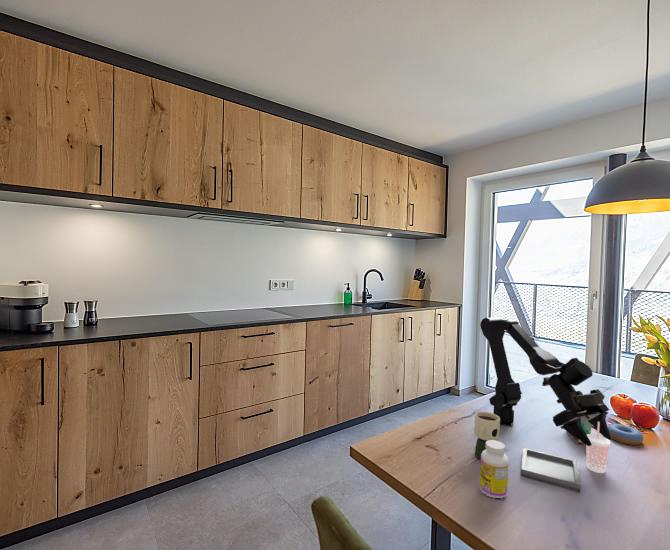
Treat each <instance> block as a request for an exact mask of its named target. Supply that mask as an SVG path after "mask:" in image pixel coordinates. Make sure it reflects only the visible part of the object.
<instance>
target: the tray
mask: <svg viewBox="0 0 670 550" xmlns="http://www.w3.org/2000/svg"><path fill="white" fill-rule="evenodd" d="M522 450H523V451H522V458H521V459H522V461H521V468H520V469H521V470H520V476H521V477H523V478H527V479H531V480H535V481H538V482H541V483H545V484H548V485H552V486H557V487H560V488H563V489H566V490H571V491H574V492H578V493H581V488H582V487H581V480H580V473H579V467H578V460H576V459H574V458H569V457H565V456H560V455H558V454H552V453H548V452H543V451H541V450H536V449H531V448H528V447H523V449H522Z"/></svg>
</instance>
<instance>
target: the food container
mask: <svg viewBox="0 0 670 550" xmlns="http://www.w3.org/2000/svg"><path fill="white" fill-rule="evenodd" d="M577 415H578V414H577ZM580 418H581V427H582V428H583V430H584V431H585V433H586V435H587V434H592V432H591V431H592V427H593V426H592V425H591V424H590V423H589V422H588V420H590V419H588V418H586V417H585V416H584V417H580ZM577 419H578V418H577ZM565 432H566V433H567V434H568V435H569V436H570V437H571V439H573V441H574V442H575V443H576V444H577V445H586V444H585V443H583V442H582V441H581V440H579V439H578V438H576V437H575V436H574V435H572V434H571V433H569V432H568V431H566V430H565Z"/></svg>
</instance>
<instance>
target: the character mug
mask: <svg viewBox="0 0 670 550" xmlns="http://www.w3.org/2000/svg"><path fill="white" fill-rule="evenodd" d="M493 413H494V412H488V411H477V412H475V415H474V427H473V428H474V429H473V431H474V432H473V433H474V436H475V437H476V441H475V447H474V448H475V449H474V455H475V456H476V457H477V458H479V459H481V453H482V452H483V451H484V450H485V449H486V447H485V446H486V441H488V440H496V441H499V439H500V429H501V428H500V427H501V426H500V425H501V424H500V418H499V416H497V415H495V414H493Z"/></svg>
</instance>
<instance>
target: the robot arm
mask: <svg viewBox="0 0 670 550" xmlns="http://www.w3.org/2000/svg"><path fill="white" fill-rule="evenodd" d="M479 324H480V325H479V326H480V329H481V332H482V335H483V336H484V337H485V339H486V340H487V341H488V343H489V348H490V353H491V356H492V361H493V365H494V366H493V367H494V371H495V376H496V383H495V387H494V391H495V394H494V395H493V396H491V397H489V404H490V405H491V406H493V412H492V413H493V414H495V415H497V416H499V418H500V425H504V426H509V427H512V425H513V423H514V421H515V420H514V419H515V410H514V409H513V408H514V407H516V406H517V405H518V402H520V401H521V399H522V395H523V392H522V391H521V385H520V382H515V380H514V379H513V378H512V374H511V370H510V366H509V362H508V357H507V352H506V348H505V345H504V341H503V339H504V335H505V333H506V332H507V334H508V335H509V336H510V337H511V338H512V339H513V341H515V343H516V344H517V345H518V346H519V347H520V348H521V350H522V351H523V352H525V354H526V355H527V357H528V359H529V364H530V365H531V367H532V368H533V369H534V371H535V373H537V374H538V375H541V376H547V375H550V376H547V377H543V378H542V379H543V381H542V384H541V385H542V386H543V387H547V386H549V387H550V388H551V390H552V392H553V394H555V395H556V397H557V400H556V402H557V404H561V405H562V406H563V408H564V409H563V410H562V411H560V412H558V413H557V414H554V415H553V416H552V422H553V424H554V425H555V427H556V428H557V427H560V429H563V430H564V431H565V432H566V431H568V432H569V433H571V434H572V435H574V436H575V437H576V438H578V439H579V440H581V441H582V442H583V443H585V444H584V445H587V446H591V445H592V444H591V442H590V440H589V438H588V436H587V435H586V433H585V431H584V430H583V428H582V427H581V418H580V417H584V416H585V417H586V418H588V419H590V420H588V422H589V423H590V424H591V425H592V427H593V428H594V429H595V430H596V431H597V427H598V422H600V427H599V434H600V435H601V436H602V437H605V438H607V439H608V440H610V441H611V440H613V439H612V438H611V435H610V433H609V430H608V424H607V420H606V419H607V415H608V414H609V412H608V411H610V408H609V407H608V406H607V405H606V403H605V402H604V400H605V398H606V396H605V394H603V393H602V391H601V390H600V389H596V388H595V389H591V390H590V392H589V393H585V394H584V393H583V392H582V390H581V391H580V390H576V389H575V387H574V386H576V387H577V386H578V385H581V384H582V383H583V382H585V381H587V380H589V379H590V378H592V377H593V371H592V368H591V367H590V365H587V364H586V363H585V362H583V361H582V360H579V358H578V357H573V358H571V359H569V360H568V361H567V362H566V363H564V362H562V361H559V359H558V358H557V357H556V356H554V354H552V353H551V352H549V351H547V350H546V349H544V348H542V347H541V346H540V345H539V344H538V343H537V342H536V341H535V340H534V339H533V338H532V337H531V336H530V335H529V334H528V333H527V331H525V329H524V328H523V327H522V326H521V325H520V323H519V321H518V320H516V319H502V318H500V317H498V316H495V317H494V316H493V317H484V318H482V320H481V321H480V323H479ZM557 373H559V374H557ZM577 414H578V415H577ZM577 418H578V419H577Z"/></svg>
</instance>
